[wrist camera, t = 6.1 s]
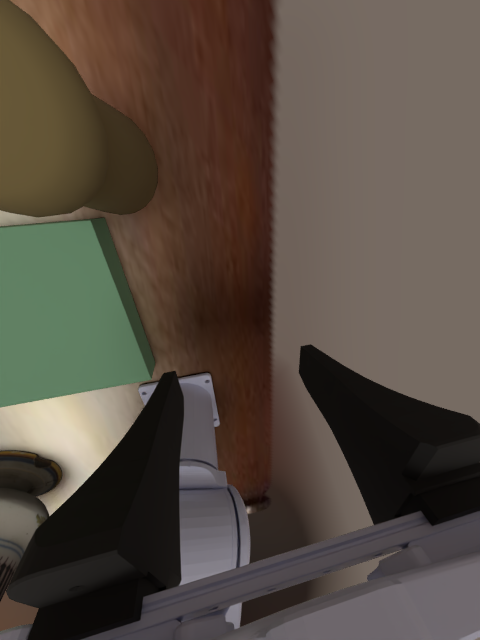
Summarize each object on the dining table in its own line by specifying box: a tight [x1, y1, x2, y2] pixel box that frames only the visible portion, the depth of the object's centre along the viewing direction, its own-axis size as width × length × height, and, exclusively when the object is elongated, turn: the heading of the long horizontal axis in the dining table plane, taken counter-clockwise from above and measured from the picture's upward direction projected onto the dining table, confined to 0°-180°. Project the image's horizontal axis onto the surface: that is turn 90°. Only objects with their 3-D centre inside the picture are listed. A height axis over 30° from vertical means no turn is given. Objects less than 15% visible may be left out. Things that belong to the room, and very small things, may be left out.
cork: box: [0, 0, 158, 217], centre depth 10 cm, size 6×6×11 cm
